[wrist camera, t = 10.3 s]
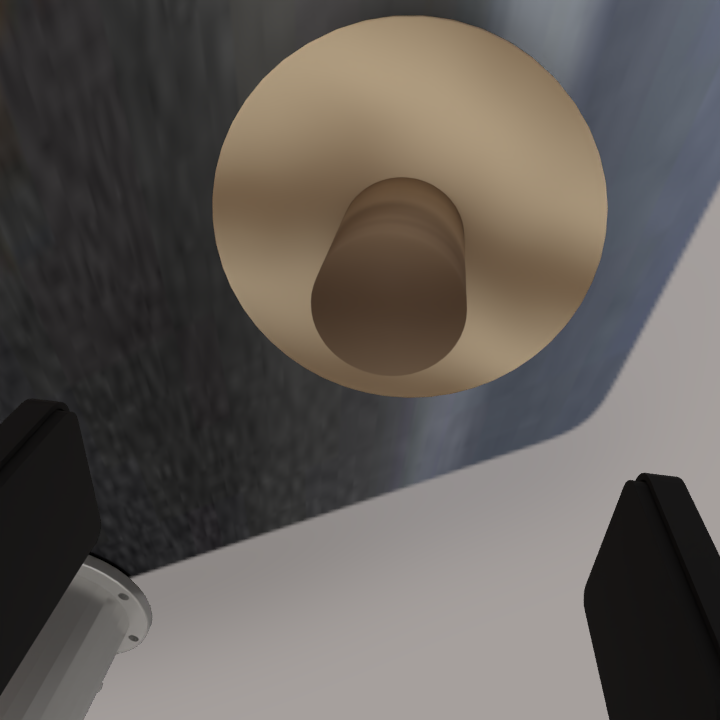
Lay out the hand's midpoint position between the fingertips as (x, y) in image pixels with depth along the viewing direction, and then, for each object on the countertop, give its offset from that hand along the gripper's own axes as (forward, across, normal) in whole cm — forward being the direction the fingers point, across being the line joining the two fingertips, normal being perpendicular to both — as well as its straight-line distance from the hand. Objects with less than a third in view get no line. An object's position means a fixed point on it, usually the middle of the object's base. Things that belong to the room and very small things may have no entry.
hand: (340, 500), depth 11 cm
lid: (+12, 0, -1) cm, 12 cm away
